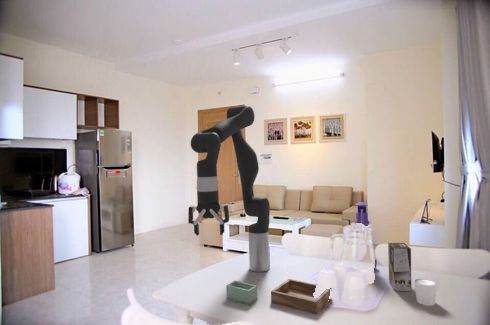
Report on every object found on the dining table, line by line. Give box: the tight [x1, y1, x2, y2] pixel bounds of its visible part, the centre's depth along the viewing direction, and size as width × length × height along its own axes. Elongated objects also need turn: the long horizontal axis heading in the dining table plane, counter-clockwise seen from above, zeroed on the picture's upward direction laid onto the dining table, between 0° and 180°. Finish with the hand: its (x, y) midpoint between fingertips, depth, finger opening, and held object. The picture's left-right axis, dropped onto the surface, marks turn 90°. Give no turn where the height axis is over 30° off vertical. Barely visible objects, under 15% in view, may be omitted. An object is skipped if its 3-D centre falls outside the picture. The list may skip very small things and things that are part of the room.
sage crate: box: [225, 280, 259, 306], centre depth 121 cm, size 5×10×5 cm, turn 55°
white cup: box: [414, 278, 438, 307], centre depth 115 cm, size 7×7×7 cm
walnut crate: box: [270, 278, 332, 315], centre depth 119 cm, size 14×17×4 cm
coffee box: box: [387, 242, 412, 292], centre depth 129 cm, size 9×6×16 cm
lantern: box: [354, 201, 378, 269], centre depth 151 cm, size 13×12×30 cm
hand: (209, 234), depth 118 cm, fingers open, 8 cm apart
